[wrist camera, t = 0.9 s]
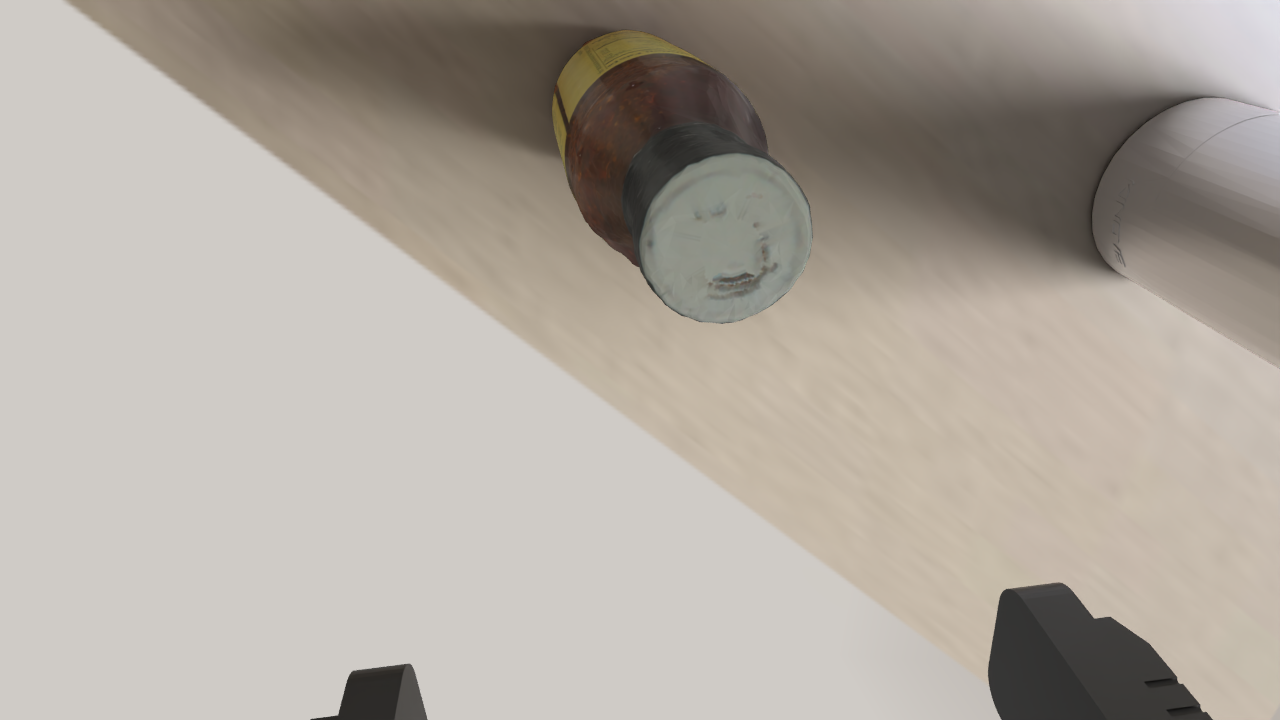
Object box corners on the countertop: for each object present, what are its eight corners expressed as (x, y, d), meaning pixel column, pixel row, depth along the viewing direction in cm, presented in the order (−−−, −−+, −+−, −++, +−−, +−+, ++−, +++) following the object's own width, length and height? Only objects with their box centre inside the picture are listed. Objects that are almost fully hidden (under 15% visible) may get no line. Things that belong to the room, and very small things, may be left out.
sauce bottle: (663, 192, 39) (785, 420, 21) (530, 147, 37) (543, 355, 20) (719, 48, 36) (910, 173, 19) (579, -7, 35) (645, 74, 17)
